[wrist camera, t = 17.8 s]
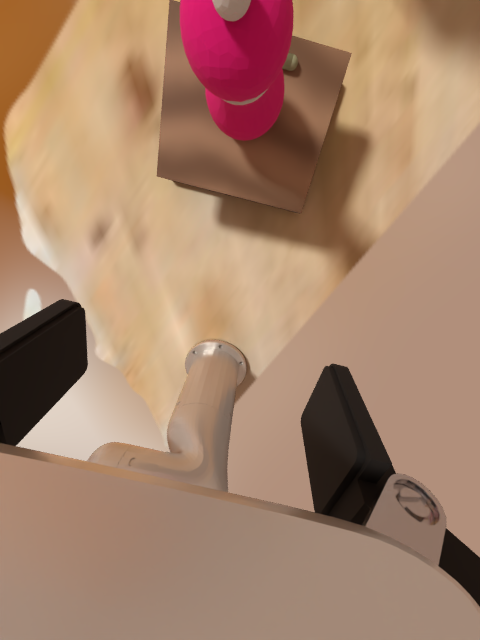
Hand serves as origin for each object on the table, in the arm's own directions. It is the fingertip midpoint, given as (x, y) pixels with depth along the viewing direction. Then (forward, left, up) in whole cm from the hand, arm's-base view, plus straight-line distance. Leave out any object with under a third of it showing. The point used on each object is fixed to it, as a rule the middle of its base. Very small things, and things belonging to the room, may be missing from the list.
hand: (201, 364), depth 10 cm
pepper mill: (+13, +3, -28) cm, 31 cm away
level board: (+12, +3, -29) cm, 32 cm away
